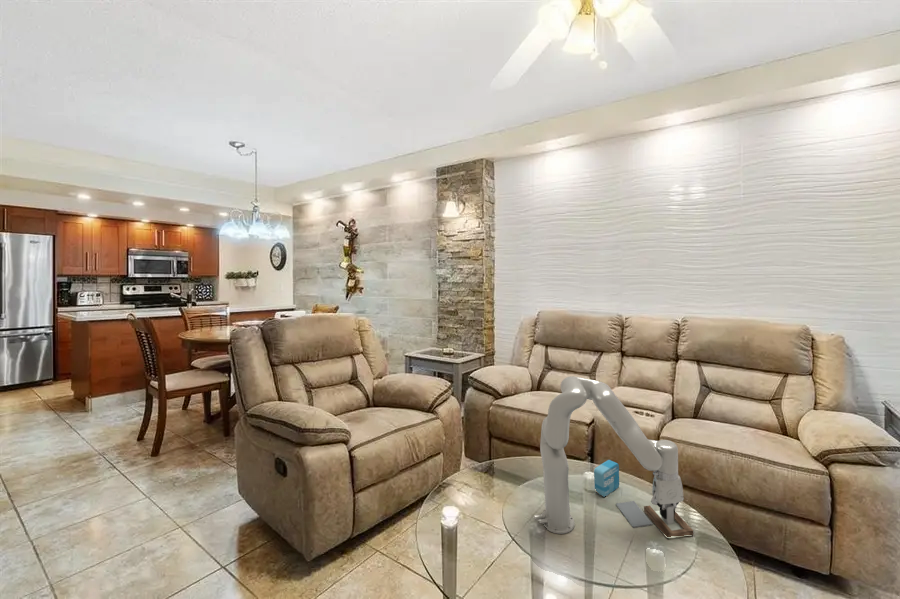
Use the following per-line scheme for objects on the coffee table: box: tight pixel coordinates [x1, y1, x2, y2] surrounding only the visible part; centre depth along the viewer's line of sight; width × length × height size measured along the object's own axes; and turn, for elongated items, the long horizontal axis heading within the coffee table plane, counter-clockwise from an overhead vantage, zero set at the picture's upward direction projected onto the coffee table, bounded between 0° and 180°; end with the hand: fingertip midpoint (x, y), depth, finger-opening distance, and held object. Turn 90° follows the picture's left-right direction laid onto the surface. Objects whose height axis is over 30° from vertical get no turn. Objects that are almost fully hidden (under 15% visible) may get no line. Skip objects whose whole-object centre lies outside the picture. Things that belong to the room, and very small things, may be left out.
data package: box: [593, 459, 620, 498], centre depth 181 cm, size 12×4×12 cm, turn 124°
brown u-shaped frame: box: [643, 505, 694, 537], centre depth 159 cm, size 10×16×2 cm, turn 4°
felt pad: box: [615, 500, 654, 529], centre depth 165 cm, size 8×14×1 cm, turn 4°
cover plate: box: [654, 504, 683, 531], centre depth 159 cm, size 6×12×8 cm, turn 4°
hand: (667, 515), depth 159 cm, fingers closed on cover plate, 2 cm apart
